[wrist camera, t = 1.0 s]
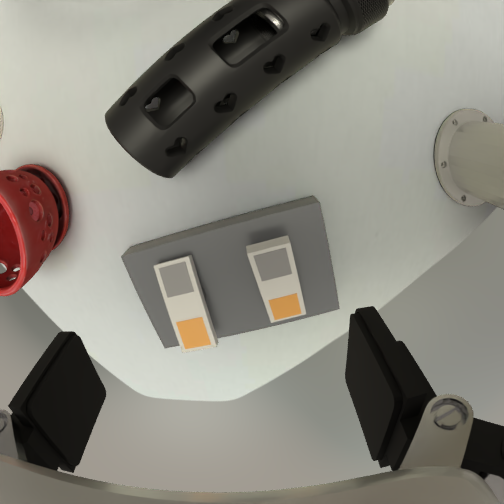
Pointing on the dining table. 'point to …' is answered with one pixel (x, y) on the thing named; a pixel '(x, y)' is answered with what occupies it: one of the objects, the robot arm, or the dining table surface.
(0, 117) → the cup
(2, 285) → the plant pot
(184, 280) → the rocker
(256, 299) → the switch panel
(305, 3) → the muzzle brake
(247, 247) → the rocker
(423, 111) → the dining table surface
